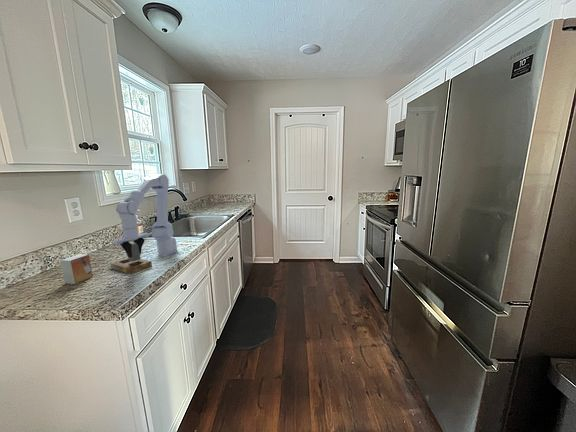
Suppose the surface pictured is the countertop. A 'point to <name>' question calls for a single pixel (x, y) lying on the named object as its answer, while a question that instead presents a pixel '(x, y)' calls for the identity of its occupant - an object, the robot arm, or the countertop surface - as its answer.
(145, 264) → the divided box
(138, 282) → the countertop surface
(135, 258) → the plug
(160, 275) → the countertop surface
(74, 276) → the small box
